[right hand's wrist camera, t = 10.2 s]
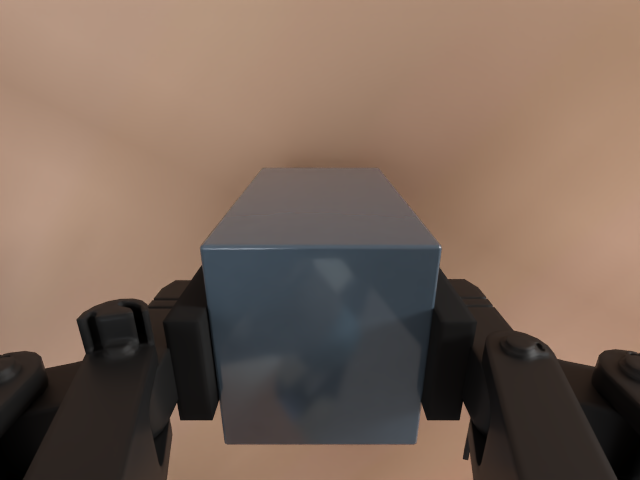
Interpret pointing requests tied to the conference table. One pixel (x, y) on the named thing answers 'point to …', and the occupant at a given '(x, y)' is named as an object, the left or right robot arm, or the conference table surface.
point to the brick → (320, 309)
